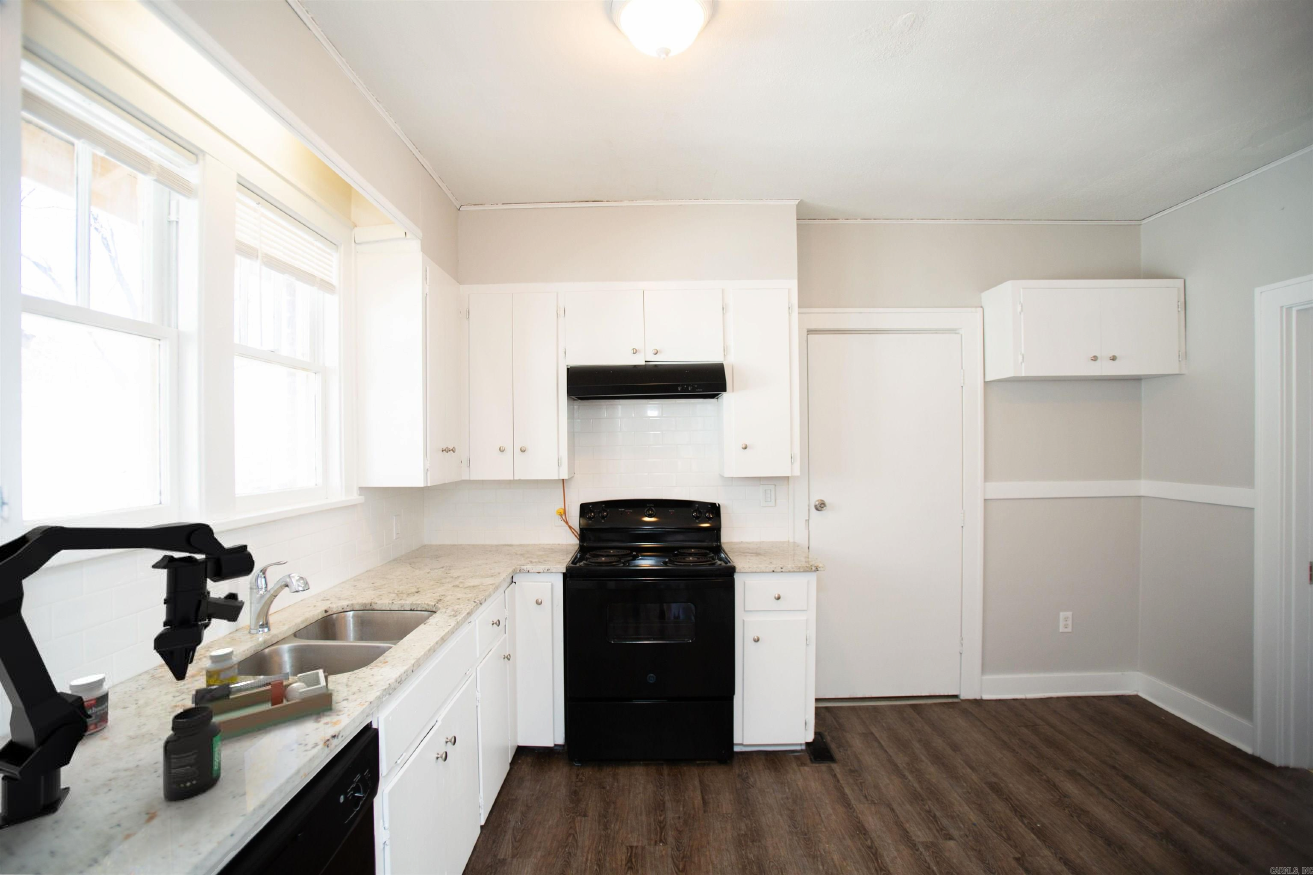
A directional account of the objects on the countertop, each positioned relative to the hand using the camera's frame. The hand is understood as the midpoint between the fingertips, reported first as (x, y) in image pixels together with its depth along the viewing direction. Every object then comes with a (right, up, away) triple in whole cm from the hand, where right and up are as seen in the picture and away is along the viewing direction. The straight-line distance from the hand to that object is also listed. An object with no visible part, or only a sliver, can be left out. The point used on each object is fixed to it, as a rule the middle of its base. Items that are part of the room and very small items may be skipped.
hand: (185, 671), depth 95 cm
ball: (+13, -10, +11) cm, 20 cm away
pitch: (+8, -13, +7) cm, 17 cm away
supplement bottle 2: (-8, -13, +17) cm, 23 cm away
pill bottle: (-23, -13, +4) cm, 27 cm away
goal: (+15, -11, +12) cm, 23 cm away
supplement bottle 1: (+15, -12, -14) cm, 24 cm away
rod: (+6, -11, +6) cm, 14 cm away
